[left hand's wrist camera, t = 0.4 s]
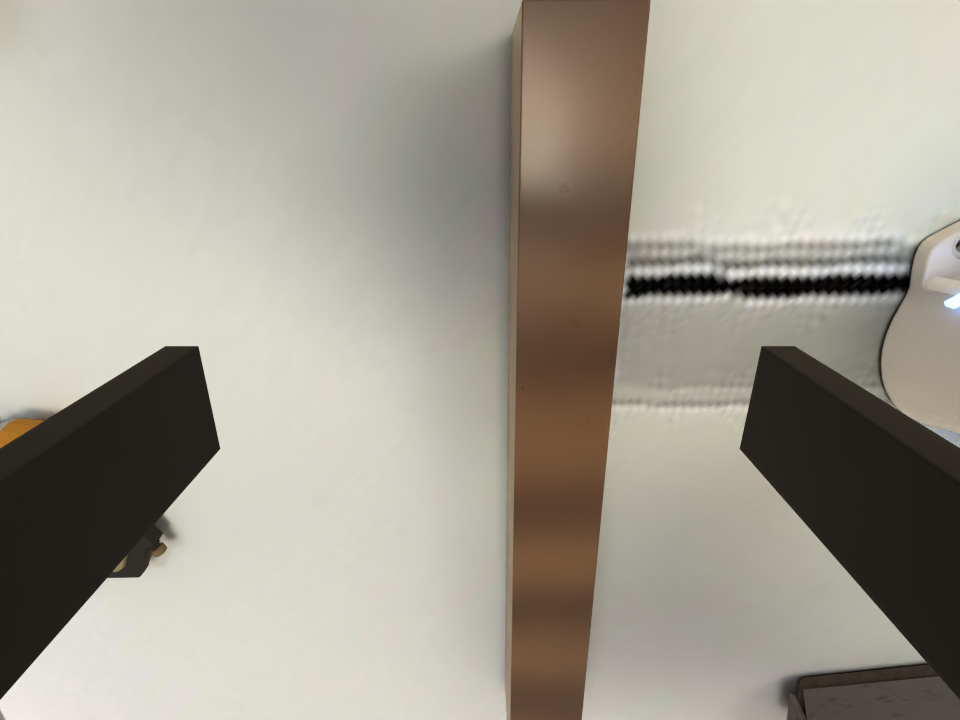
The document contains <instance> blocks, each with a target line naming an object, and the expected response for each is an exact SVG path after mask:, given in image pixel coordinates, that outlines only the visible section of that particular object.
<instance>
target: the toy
mask: <svg viewBox="0 0 960 720" xmlns="http://www.w3.org/2000/svg"><path fill="white" fill-rule="evenodd" d="M787 720H960V699H959V698H958V697H957V696H956V695H955V694H954V693H953V691H952V690H951V689H950V688H949V687H948V686H947V685H946V683H945V682H944V681H943V680H942V679H941V678H940V677H939V675H938V674H937V673H936V672H935V671H934V670H933V669H932V667H931V666H930V665H929V664H928V665H919V666H909V667H900V668H890V669H881V670H872V671H862V672H853V673H843V674H834V675H824V676H815V677H805V678H802V679H801V680H800V683H799V691H798V700H797V699H796V697H795V695H794V694H790V698H789V706H788V715H787Z"/></svg>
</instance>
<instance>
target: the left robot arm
mask: <svg viewBox="0 0 960 720" xmlns="http://www.w3.org/2000/svg"><path fill="white" fill-rule="evenodd" d="M219 450H220V446H219V441H218V436H217V432H216V427H215V422H214V417H213V413H212V408H211V403H210V399H209V394H208V389H207V385H206V380H205V375H204V371H203V366H202V361H201V357H200V352H199V347H198V346H165V347H164V348H162V349H160V350H159V351H157V352H155V353H154V354H152V355H151V356H149V357H147V358H146V359H144V360H142V361H141V362H139V363H138V364H136V365H134V366H133V367H131V368H129V369H128V370H126V371H125V372H123V373H121V374H120V375H118V376H117V377H115V378H113V379H112V380H110V381H108V382H107V383H105V384H104V385H102V386H100V387H99V388H97V389H95V390H94V391H92V392H91V393H89V394H87V395H86V396H84V397H82V398H81V399H79V400H78V401H76V402H74V403H73V404H71V405H69V406H68V407H66V408H65V409H63V410H61V411H60V412H58V413H57V414H55V415H53V416H52V417H50V418H48V419H47V420H45V421H44V422H42V423H40V424H39V425H37V426H35V427H34V428H32V429H31V430H29V431H27V432H26V433H24V434H22V435H21V436H19V437H18V438H16V439H14V440H13V441H11V442H9V443H8V444H6V445H5V446H3V447H1V448H0V699H1V698H2V697H3V696H4V695H5V694H6V693H7V691H8V690H9V689H10V688H11V687H12V686H13V685H14V683H15V682H16V681H17V680H18V679H19V678H20V677H21V675H22V674H23V673H24V672H25V671H26V670H27V669H28V667H29V666H30V665H31V664H32V663H33V662H34V661H35V659H36V658H37V657H38V656H39V655H40V654H41V653H42V651H43V650H44V649H45V648H46V647H47V646H48V645H49V644H50V642H51V641H52V640H53V639H54V638H55V637H56V636H57V634H58V633H59V632H60V631H61V630H62V629H63V628H64V626H65V625H66V624H67V623H68V622H69V621H70V620H71V618H72V617H73V616H74V615H75V614H76V613H77V612H78V610H79V609H80V608H81V607H82V606H83V605H84V604H85V602H86V601H87V600H88V599H89V598H90V597H91V596H92V594H93V593H94V592H95V591H96V590H97V589H98V588H99V586H100V585H101V584H102V583H103V582H104V581H105V580H106V578H107V577H108V576H109V575H110V574H111V573H112V572H113V570H114V569H115V568H116V567H117V566H118V565H119V564H120V563H121V561H122V560H123V559H124V558H125V557H126V556H127V555H128V553H129V552H130V551H131V550H132V549H133V548H134V547H135V545H136V544H137V543H138V542H139V541H140V540H141V539H142V537H143V536H144V535H145V534H146V533H147V532H148V531H149V529H150V528H151V527H152V526H153V525H154V524H155V523H156V521H157V520H158V519H159V518H160V517H161V516H162V515H163V513H164V512H165V511H166V510H167V509H168V508H169V507H170V505H171V504H172V503H173V502H174V501H175V500H176V499H177V497H178V496H179V495H180V494H181V493H182V492H183V491H184V489H185V488H186V487H187V486H188V485H189V484H190V483H191V482H192V480H193V479H194V478H195V477H196V476H197V475H198V474H199V472H200V471H201V470H202V469H203V468H204V467H205V466H206V464H207V463H208V462H209V461H210V460H211V459H212V458H213V456H214V455H215V454H216V453H217V452H218V451H219ZM740 450H741V451H742V452H743V453H744V454H745V455H746V456H747V458H748V459H749V460H750V461H751V462H752V463H753V464H754V466H755V467H756V468H757V469H758V470H759V471H760V472H761V474H762V475H763V476H764V477H765V478H766V479H767V480H768V482H769V483H770V484H771V485H772V486H773V487H774V488H775V489H776V491H777V492H778V493H779V494H780V495H781V496H782V497H783V499H784V500H785V501H786V502H787V503H788V504H789V505H790V507H791V508H792V509H793V510H794V511H795V512H796V513H797V515H798V516H799V517H800V518H801V519H802V520H803V521H804V523H805V524H806V525H807V526H808V527H809V528H810V529H811V531H812V532H813V533H814V534H815V535H816V536H817V537H818V539H819V540H820V541H821V542H822V543H823V544H824V545H825V547H826V548H827V549H828V550H829V551H830V552H831V553H832V555H833V556H834V557H835V558H836V559H837V560H838V561H839V563H840V564H841V565H842V566H843V567H844V568H845V569H846V570H847V572H848V573H849V574H850V575H851V576H852V577H853V578H854V580H855V581H856V582H857V583H858V584H859V585H860V586H861V588H862V589H863V590H864V591H865V592H866V593H867V594H868V596H869V597H870V598H871V599H872V600H873V601H874V602H875V604H876V605H877V606H878V607H879V608H880V609H881V610H882V612H883V613H884V614H885V615H886V616H887V617H888V618H889V620H890V621H891V622H892V623H893V624H894V625H895V626H896V628H897V629H898V630H899V631H900V632H901V633H902V634H903V636H904V637H905V638H906V639H907V640H908V641H909V642H910V644H911V645H912V646H913V647H914V648H915V649H916V650H917V651H918V653H919V654H920V655H921V656H922V657H923V658H924V659H925V661H926V662H927V663H928V664H929V665H930V666H931V667H932V669H933V670H934V671H935V672H936V673H937V674H938V675H939V677H940V678H941V679H942V680H943V681H944V682H945V683H946V685H947V686H948V687H949V688H950V689H951V690H952V691H953V693H954V694H955V695H956V696H957V697H958V698H959V699H960V448H959V447H957V446H955V445H954V444H952V443H951V442H949V441H947V440H946V439H944V438H942V437H941V436H939V435H938V434H936V433H934V432H933V431H931V430H929V429H928V428H926V427H925V426H923V425H921V424H920V423H918V422H916V421H915V420H913V419H912V418H910V417H908V416H907V415H905V414H903V413H902V412H900V411H899V410H897V409H895V408H894V407H892V406H891V405H889V404H887V403H886V402H884V401H882V400H881V399H879V398H878V397H876V396H874V395H873V394H871V393H869V392H868V391H866V390H865V389H863V388H861V387H860V386H858V385H856V384H855V383H853V382H852V381H850V380H848V379H847V378H845V377H843V376H842V375H840V374H839V373H837V372H835V371H834V370H832V369H831V368H829V367H827V366H826V365H824V364H822V363H821V362H819V361H818V360H816V359H814V358H813V357H811V356H809V355H808V354H806V353H805V352H803V351H801V350H800V349H798V348H796V347H795V346H762V347H761V352H760V357H759V361H758V366H757V371H756V375H755V380H754V385H753V389H752V394H751V399H750V403H749V408H748V413H747V417H746V422H745V427H744V432H743V436H742V441H741V446H740Z"/></svg>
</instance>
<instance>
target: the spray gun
mask: <svg viewBox="0 0 960 720" xmlns="http://www.w3.org/2000/svg"><path fill="white" fill-rule="evenodd" d="M42 422H44V421H42V420H34V419H20V418H18V419H9V420H6V421H4V422H2V423H0V448H1V447H3V446H5V445H6V444H8V443H9V442H11V441H13V440H14V439H16V438H18V437H19V436H21V435H22V434H24V433H26V432H27V431H29V430H31V429H32V428H34V427H35V426H37V425H39V424H40V423H42ZM161 535H162V532H161V531H160V530H159V529H158V528H157V527H156V526H155V525H153V526H152V527H151V528H150V529H149V531H148V532H147V533H146V534H145V535H144V536H143V537H142V539H141V540H140V541H139V542H138V543H137V544H136V545H135V547H134V548H133V549H132V550H131V551H130V552H129V553H128V555H127V556H126V557H125V558H124V559H123V560H122V561H121V563H120V564H119V565H118V566H117V567H116V568H115V569H114V570H113V572H112V573H111V574H110V575H109V576H108V577H107V578H127V577H140V576H141V575H142V574H143V572H144V571H145V570H146V568H147V567H148V565H149V561H150V556H151V554H153V555H154V556H155V557H158V556H160V555H162V554H163V553H164V552H165V551H166V549H167V547H166V545H165V544H164V543H163V542H162V543H159V538H160V537H161Z"/></svg>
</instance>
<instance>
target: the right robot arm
mask: <svg viewBox="0 0 960 720" xmlns="http://www.w3.org/2000/svg"><path fill="white" fill-rule="evenodd" d="M958 241H960V221H958V222H956V223H954V224H952V225H950V226H948V227H946V228H944V229H943V230H941V231H939V232H937V233H935V234H933V235H931V236H930V237H928V238H927V239H925V240H924V241H923V242H922V243H921V245H920V246H919V248H918V250H917V252H916V254H915V258H914V262H913V266H912V272H911V279H910V287H909V289H908V292H907V294H906V296H905V298H904V300H903V302H902V304H901V305H900V307H899V309H898V311H897V313H896V314H895V316H894V318H893V320H892V322H891V324H890V326H889V329H888V331H887V334H886V337H885V340H884V344H883V349H882V355H881V374H882V380H883V384H884V387H885V390H886V392H887V394H888V396H889V398H890V399H891V401H892V402H893V403H894V405H895V406H896V407H897V408H898V409H899V410H900V411H901V412H902V413H903V414H905V415H907V416H908V417H910V418H912V419H913V420H915V421H917V422H919V423H922V424H925V425H929V426H933V427H937V428H941V429H945V430H948V431H952V432H955V433H958V434H960V244H959V246H958V247H957V248H956V244H957V243H958Z"/></svg>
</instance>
